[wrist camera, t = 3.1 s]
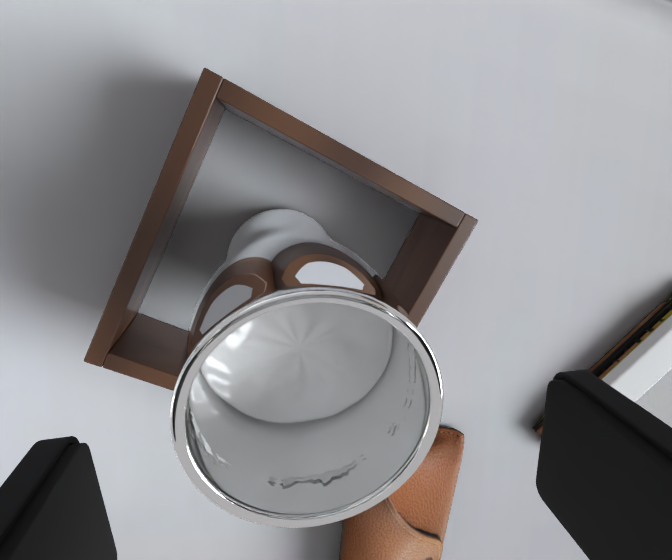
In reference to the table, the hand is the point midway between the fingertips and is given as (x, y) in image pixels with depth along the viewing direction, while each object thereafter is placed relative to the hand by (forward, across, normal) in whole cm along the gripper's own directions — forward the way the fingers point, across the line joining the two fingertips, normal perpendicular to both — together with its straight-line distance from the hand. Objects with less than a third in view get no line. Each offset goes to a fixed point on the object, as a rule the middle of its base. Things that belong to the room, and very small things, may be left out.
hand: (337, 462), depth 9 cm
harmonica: (+17, -23, +10) cm, 30 cm away
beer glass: (+17, 0, 0) cm, 17 cm away
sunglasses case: (+17, -6, +21) cm, 28 cm away
